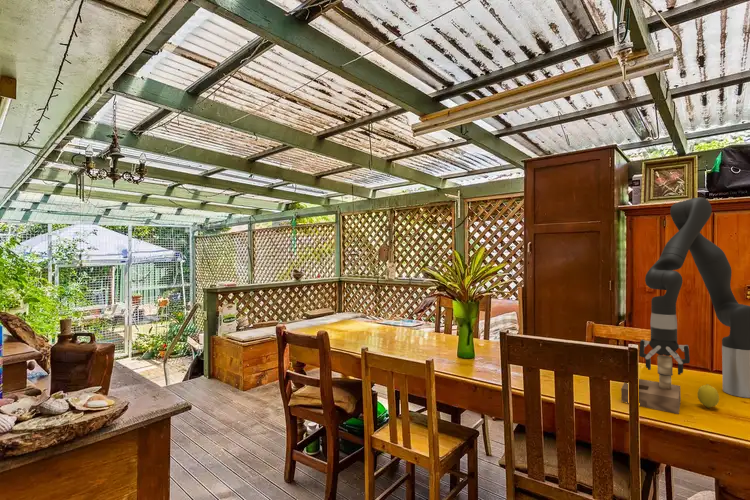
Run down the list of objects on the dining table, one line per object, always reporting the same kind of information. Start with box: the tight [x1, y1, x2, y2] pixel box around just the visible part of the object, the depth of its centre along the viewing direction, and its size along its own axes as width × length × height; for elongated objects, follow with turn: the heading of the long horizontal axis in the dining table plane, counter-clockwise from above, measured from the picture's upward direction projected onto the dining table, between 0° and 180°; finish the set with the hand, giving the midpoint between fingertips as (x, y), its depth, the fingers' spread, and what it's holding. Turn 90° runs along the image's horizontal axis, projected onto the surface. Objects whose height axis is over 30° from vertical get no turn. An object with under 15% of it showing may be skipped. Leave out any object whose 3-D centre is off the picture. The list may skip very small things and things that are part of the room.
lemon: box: [697, 383, 720, 409], centre depth 131 cm, size 6×6×8 cm
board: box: [620, 378, 682, 415], centre depth 138 cm, size 16×15×5 cm
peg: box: [657, 354, 674, 390], centre depth 137 cm, size 4×4×11 cm
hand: (663, 371), depth 137 cm, fingers open, 8 cm apart
